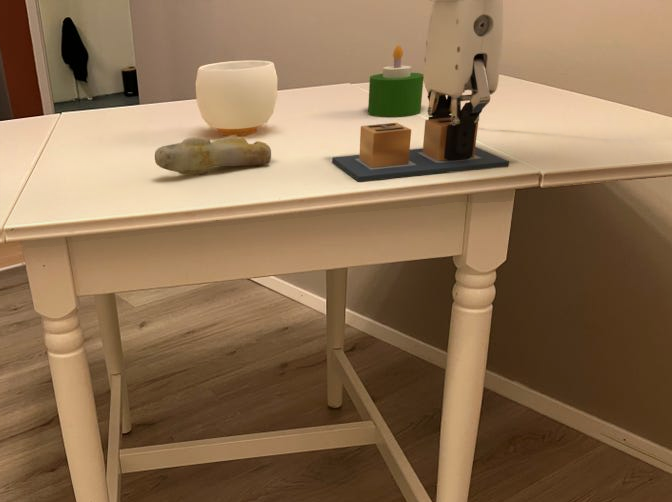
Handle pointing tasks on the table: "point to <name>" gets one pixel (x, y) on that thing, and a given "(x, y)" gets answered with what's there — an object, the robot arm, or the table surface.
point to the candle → (395, 90)
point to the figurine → (211, 154)
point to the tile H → (385, 145)
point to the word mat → (417, 165)
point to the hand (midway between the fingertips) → (448, 152)
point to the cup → (236, 95)
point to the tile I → (438, 138)
